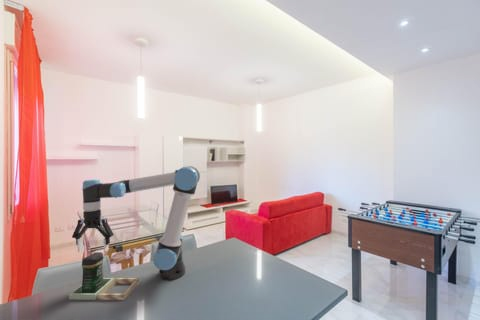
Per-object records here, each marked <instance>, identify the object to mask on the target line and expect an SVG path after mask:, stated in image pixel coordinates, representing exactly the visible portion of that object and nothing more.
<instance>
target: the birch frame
mask: <svg viewBox="0 0 480 320" xmlns="http://www.w3.org/2000/svg"><path fill="white" fill-rule="evenodd" d="M116 284H121V285H122V284H130V286H129V287H128V288H127V289H126V290H125V291H124V292H123V293H108V292H109V291H110V290H111V289H112V288H113V287H114V286H116ZM139 284H140V278H139V277H137V278H136V277H135V278H134V277H133V278H132V277H127V278H125V277H123V278H122V277H116V278H115V277H114V280H113V281H112V282H111V283H110V284H109V285H107V286H106V287H105V288H104V289H103V290H102V291H101V292H100V293H99V294H97V299H96V300H98V301H104V300H105V301H106V300H107V301H110V300H111V301H124V300H125V299H126V298H127V297H128V296H129V295H130V294H131V292H132V291H133V290H134V289H135V288H136V287H137V286H138V285H139Z"/></svg>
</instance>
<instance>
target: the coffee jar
mask: <svg viewBox="0 0 480 320" xmlns="http://www.w3.org/2000/svg"><path fill="white" fill-rule="evenodd" d="M103 263H104V254H103V252H99V251H98V252H96V251H95V252H92V253H91V254H89V255H87V256H86V257H84V258H82V259H81V267H82V280H81V281H82V282H81V283H82V284H81V285H82V291H81V293H96V292H97V291H98V290H99V289H101V288H102V287H103V286H104V283H103V278H104V274H103Z"/></svg>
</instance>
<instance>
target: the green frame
mask: <svg viewBox="0 0 480 320" xmlns="http://www.w3.org/2000/svg"><path fill="white" fill-rule="evenodd" d="M114 279H115V277H103V287H102V288H101V289H99V290H98V291H97V292H96V293H82V284H81V285H79V286H78V287H77V288H76V289H74V290H73V291H72V292H70V293H69V294H68V300H83V301H84V300H89V301H91V300H94V301H95V300H97V294H99V293H100V292H101V291H102V290H103V289H104V288H105V287H106V286H107V285H109V284H110V283H111V282H112V281H113V280H114Z"/></svg>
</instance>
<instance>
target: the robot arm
mask: <svg viewBox="0 0 480 320" xmlns="http://www.w3.org/2000/svg"><path fill="white" fill-rule="evenodd" d="M200 175H201V174H200V172H199V170H198V169H197V168H196V167H194V166H191V165H190V166H183V167H180V168H179V169H175V170H174V172H167V173H161V174H155V175H150V176H149V175H148V176H143V177H137V178H131V179H123V180H119V181H116V182H106V183H104V182H103V183H102V182H101V181H100V179H87V180H84V181H83V182H82V189H81V190H82V199H83V200H82V210H83V213H82V215H83V218H81V219H78V220H77V225H76V226H75V230H74V231H73V234H72V235H71V237H72V239H75V240H76V241H75V242H76V246H77V253H80V252H83V251H84V243H83V242H84V237H83V235H84V234H85V233H86V231H87V230H88V229H96V230H97V231H98V232H99V233H100V234H101V235H102V236H103V237H104V238H103V252H107V251H109V250H110V248H109V245H110V243H111V242H110V239H111V237H114V235H115V234H114V233H113V230H112V229H111V227H110V225H109V223H108V218H101V215H102V210H101V199H107V198H108V199H109V198H110V199H111V198H116V199H117V198H122V197H124V196H125V194H129V193H130V194H131V193H135V192H141V191H148V190H154V189H160V188H164V187H165V188H166V187H171V186H173V187H172V191H173V192H174V194H173V199H172V203H171V206H170V209H169V210H170V211H169V212H168V213H169V214H168V217H167V222H166V225H165V229H164V233H163V235H161V237H160V238H159V240H158V244H157V249H156V250H155V252H154V253H153V256H152V261H153V265H154V266H155V267H156V268H157V269H158V270H159V271H158V277H159V278H160V279H162V280H167V281H170V280H172V281H173V280H176V279H179V278H181V277H183V276H184V275H186V272H187V269H186V265H185V262H184V259H183V240H184V238H183V235H182V232H183V227H184V224H185V220H186V217H187V216H186V215H187V212H188V209H189V205H190V201H191V197H192V196H193V195H195V194H196V190H197V186H198V183H199V182H200V177H201V176H200Z"/></svg>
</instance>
